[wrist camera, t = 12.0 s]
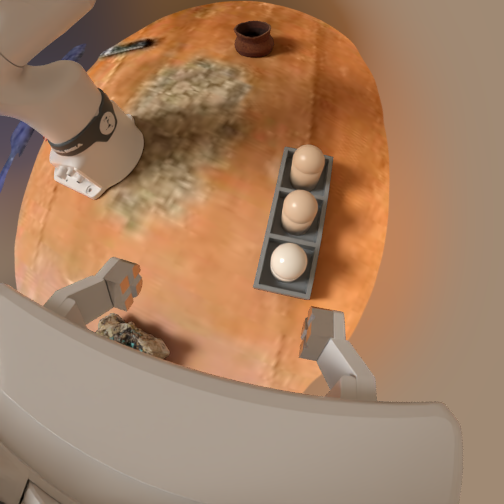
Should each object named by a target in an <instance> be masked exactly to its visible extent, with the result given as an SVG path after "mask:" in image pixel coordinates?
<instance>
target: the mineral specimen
mask: <svg viewBox="0 0 504 504" xmlns="http://www.w3.org/2000/svg"><path fill="white" fill-rule="evenodd" d="M95 333H97V334H100V335H102V336H104V337H106V338H109V339H111V340H113V341H116V342H118V343H121V344H123V345H126V346H128V347H131V348H133V349H136V350H138V351H141V352H144V353H146V354H149V355H152V356H155V357H158V358H160V359H163V358H166V357H167V356H169V355H170V351H169V350H168V348H167V347H166V345H165V343H164V342H163V341H162V339H160V338H155V337H154V336H152V335H151V334H147V333H146V332H144V331H142V330H141V329H140V328H137V327H136V326H135V324H134V322H129V323H125V322H124V320H123V319H122V318H120V317H119V315H117V314H115V313H111V314H110V315H109V316H106V317H105V318H102V319H101V320H100V321H99V324H98V330H97V331H96V332H95Z"/></svg>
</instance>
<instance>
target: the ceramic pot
mask: <svg viewBox="0 0 504 504" xmlns="http://www.w3.org/2000/svg"><path fill="white" fill-rule="evenodd" d="M270 30H271V26H270V25H269V24H267V23H266V22H260V21H248V22H245V23H240V24H238V25H237V26H236V27H235V28H234V31H235V33H236V35H237V37H236V40H235V48H236V50H237V52H238V53H239V54H240V55H242V56H246V57H262V56H265V55H267V54H269V53H270V52H271V50H272V48H273V46H274V41H273V38H272V37H271V35H270Z"/></svg>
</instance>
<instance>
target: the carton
mask: <svg viewBox="0 0 504 504" xmlns="http://www.w3.org/2000/svg"><path fill="white" fill-rule="evenodd" d="M332 163H333V157H331V156H327V155H323V153H322V151H321V150H320V149H319V148H318V147H316V146H314V145H303V146H301V147H299V148H298V149H295V148H290V147H285V148H284V153H283V157H282V162H281V166H280V171H279V175H278V180H277V184H276V189H275V193H274V198H273V202H272V207H271V211H270V216H269V220H268V225H267V229H266V233H265V238H264V242H263V246H262V251H261V255H260V260H259V264H258V268H257V273H256V277H255V281H254V285H253V288H254V289H258V290H263V291H267V292H272V293H276V294H281V295H286V296H290V297H295V298H300V299H304V300H309V299H310V295H311V290H312V285H313V281H314V276H315V270H316V265H317V260H318V255H319V249H320V244H321V238H322V232H323V226H324V220H325V214H326V207H327V200H328V193H329V186H330V179H331V171H332ZM284 243H294V244H297V245H299V246H300V247H301V248H302V249H303V250H304V251H305V253H306V255H307V267H306V269H305V271H304V273H303V274H302V275H301V276H300V277H298V278H297V279H296V280H295V281H293V282H291V283H281V282H279V281H277V280H276V279H275V278H274V277H273V275H272V273H271V269H270V265H271V256H272V253H273V251H274V250H275V249H276V248H277V247H278V246H279V245H281V244H284Z"/></svg>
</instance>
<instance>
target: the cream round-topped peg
mask: <svg viewBox="0 0 504 504" xmlns="http://www.w3.org/2000/svg"><path fill="white" fill-rule="evenodd" d="M306 267H307V255H306V253H305V251H304V250H303V249H302V248H301V247H300V246H299V245H297V244H294V243H284V244H281V245H279V246H278V247H277V248H276V249H275V250H274V251H273V253H272V256H271V265H270V269H271V273H272V275H273V277H274V278H275V279H276V280H277V281H279V282H281V283H291V282H293V281H295V280H296V279H297V278H298V277H300V276H301V275H302V274H303V273H304V271H305V269H306Z"/></svg>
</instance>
